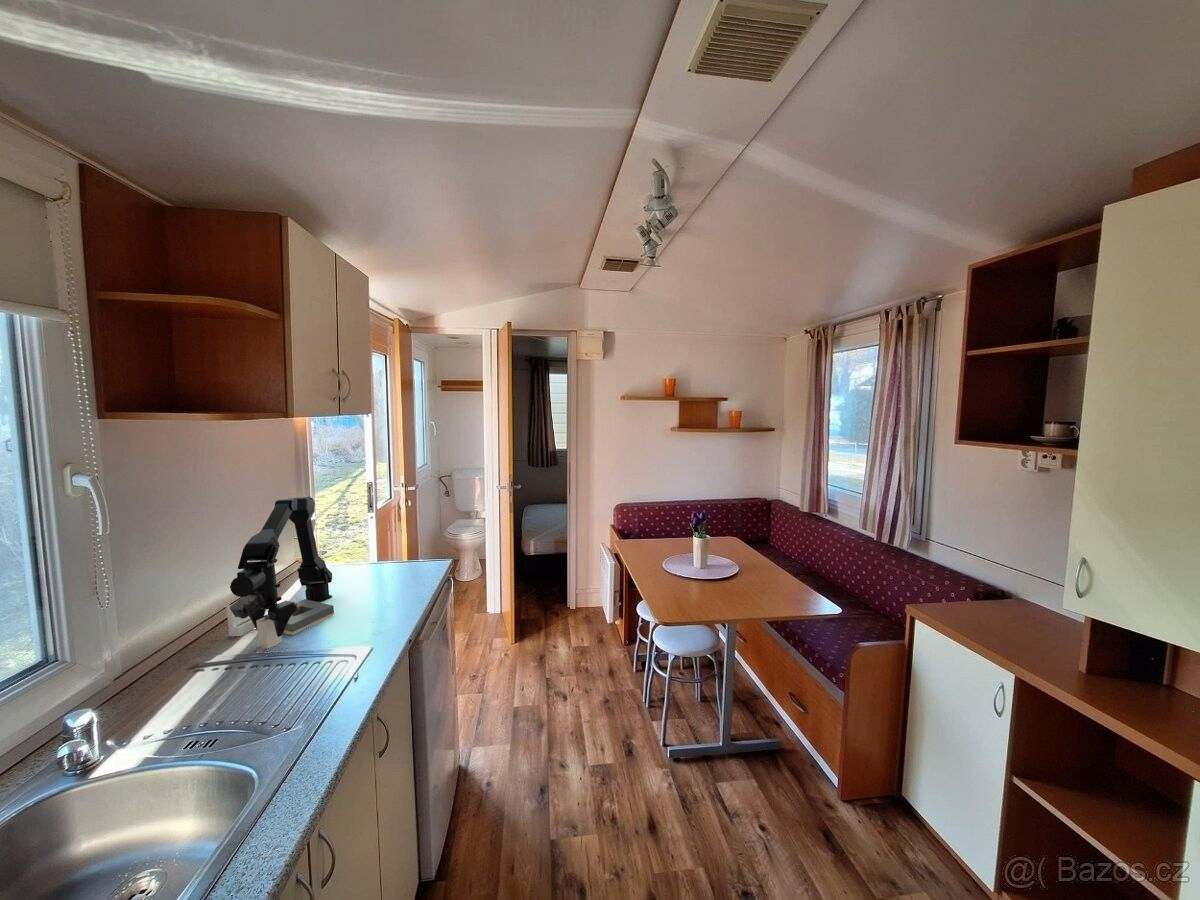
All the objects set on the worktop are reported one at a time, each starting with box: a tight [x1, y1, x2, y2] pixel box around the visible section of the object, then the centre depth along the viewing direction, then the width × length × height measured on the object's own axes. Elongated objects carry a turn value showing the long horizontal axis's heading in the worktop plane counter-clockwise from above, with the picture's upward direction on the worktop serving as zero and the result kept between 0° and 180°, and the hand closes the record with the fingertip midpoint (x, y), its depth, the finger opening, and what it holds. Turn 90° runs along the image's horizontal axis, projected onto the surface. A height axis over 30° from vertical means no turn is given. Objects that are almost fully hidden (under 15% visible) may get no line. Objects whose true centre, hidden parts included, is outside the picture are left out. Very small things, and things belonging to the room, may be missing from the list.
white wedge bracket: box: [225, 604, 255, 637], centre depth 145 cm, size 4×10×9 cm, turn 168°
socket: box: [283, 598, 335, 636], centre depth 152 cm, size 14×14×4 cm
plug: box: [256, 613, 283, 650], centre depth 138 cm, size 4×4×9 cm
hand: (269, 633), depth 138 cm, fingers open, 9 cm apart
